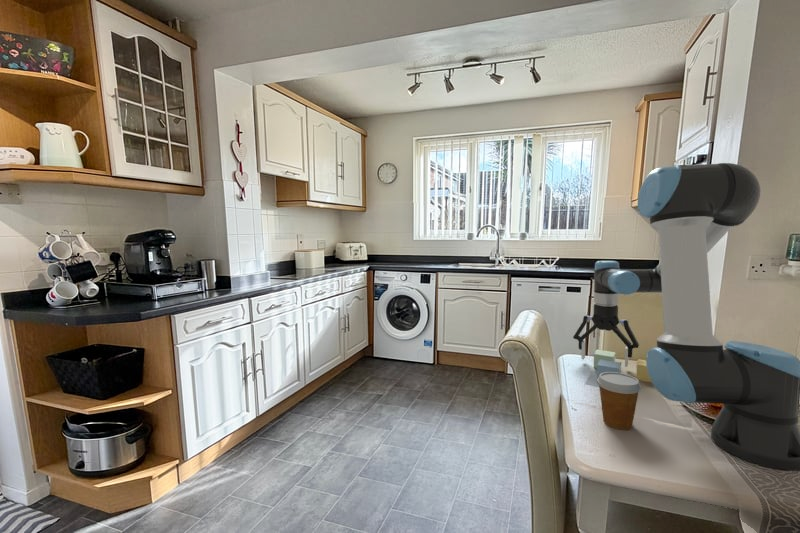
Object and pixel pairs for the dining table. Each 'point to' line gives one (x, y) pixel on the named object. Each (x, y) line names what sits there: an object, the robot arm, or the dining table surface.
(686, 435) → the dining table surface
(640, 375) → the ochre brick
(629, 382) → the disposable coffee cup
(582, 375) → the dining table surface
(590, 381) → the slate board
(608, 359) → the sage brick
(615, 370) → the blue base brick
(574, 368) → the dining table surface
